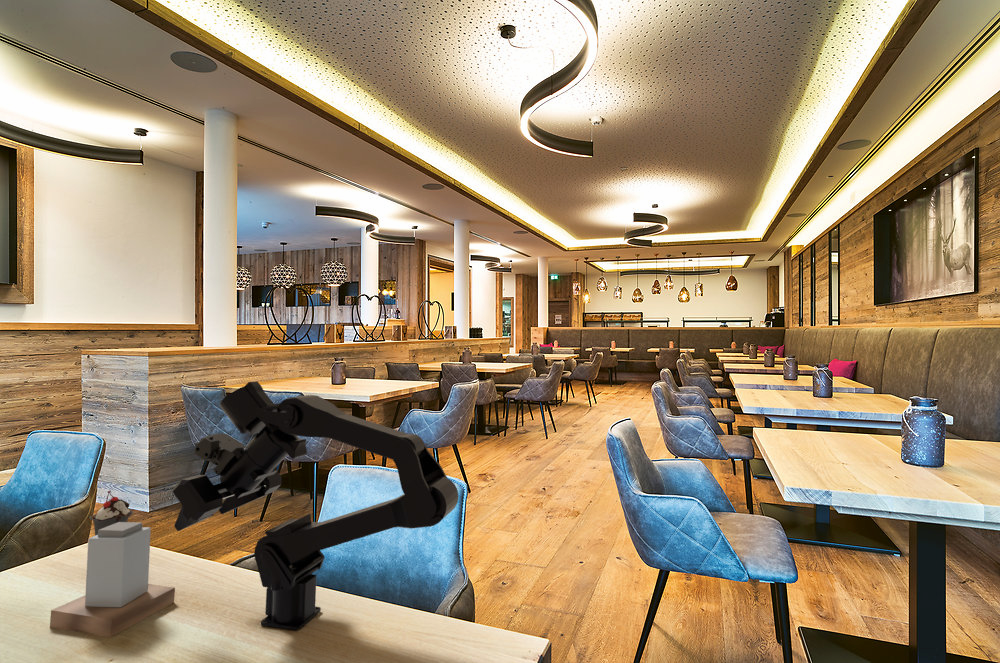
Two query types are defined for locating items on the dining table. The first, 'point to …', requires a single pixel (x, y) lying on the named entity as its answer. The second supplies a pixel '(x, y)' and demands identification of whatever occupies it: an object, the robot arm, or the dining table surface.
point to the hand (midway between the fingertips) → (199, 519)
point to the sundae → (111, 513)
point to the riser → (111, 613)
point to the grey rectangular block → (117, 564)
